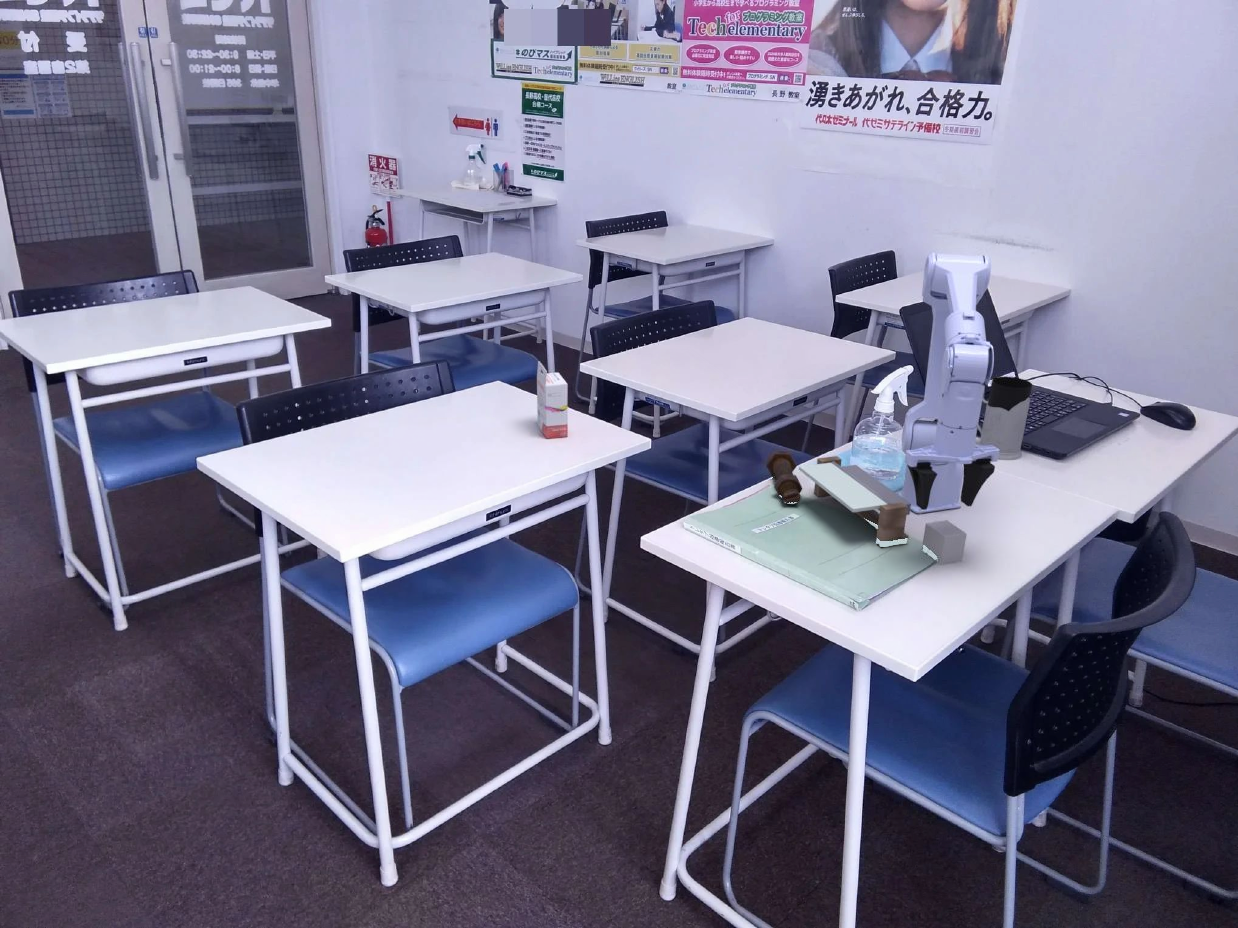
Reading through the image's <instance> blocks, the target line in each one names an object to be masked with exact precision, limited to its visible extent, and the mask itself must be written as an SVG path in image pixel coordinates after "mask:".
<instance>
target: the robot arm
mask: <svg viewBox="0 0 1238 928" xmlns="http://www.w3.org/2000/svg"><path fill="white" fill-rule="evenodd" d="M991 263H992V262H991V259H990V258H989V256H988V255H987V254H985V255H968V254H967V255H966V254H949V253H948V254H947V253H936V252H930V253H929V254H928V255H927V257H926V259H925V265H924V271H923V281H922V291H921V297H922V302H924V303H925V304H927V305H929V306H931V311H932V312H931V313H932V328H931V336H930V344H929V353H928V362H927V368H926V369H927V372H926V381H925V389H924V397H923V400H922V401H920V402H919V403H918V404H915V405H914V406H912V407H911V408H909V409H908V411H907V412H906V414H905V419H904V423H903V428H902V432H901V451H902V452H903V453H904V454H905V456H904V463H905V464H906V469H905V474H904V481H903V487H902V491H898V492H896V493H897V494H898V495H899V496H901V497H902V498H904V499H905V500H906V501H908V502H909V503H911V508H910V511H912V512H914V513H915V514H924V513H930V512H936V511H937V512H938V511H943V510H949V509H950V510H952V509H958V508H961V507H962V504H961V503H963V504H964V505H965V506H966V507H972V506H973V504H974V503H975V502H974V501H975V499H976V498H977V495H978V494H979V492H980V490H981V488H982V487H983V485H984V484H985V482H986V481H987V480H988V479H990V477H991V476H992V475H993V474H994V473H995V469H996V466H995V464H993V463H994V462H998V461H999V459H998V456H999V451H1000V450H999V449H997V448H996V447H994V446H981V445H979V444H977V445H976V438H977V433H978V428H977V427H978V425H979V420H980V415H981V410H982V409H981V408H982V405H983V404H982V403H983V401H982V399H983V393H984V388H985V387H986V386H987V385H989V383H990V381H991V380H992V378H991V377H992V375H993V372H994V371H993V370H994V364H995V363H994V362H995V356H994V355H995V354H994V347H993V345H992V344H991V342H990V341H987V336H986V328H985V327H986V326H985V319H984V317H983V315H982V314H981V313H980V312H978V311H977V305H978V304H979V301H980V300H981V299H982V297H983V296H984V294H985V292H986V291H987V289H988V287H989V284H990V279H991V278H990V277H991V269H992V264H991ZM984 384H985V385H986V386H985V385H984ZM984 394H985V393H984ZM923 419H924V420H923ZM925 419H932V420H925ZM935 420H936V421H935ZM992 462H993V463H992ZM959 501H960V502H961V503H959Z"/></svg>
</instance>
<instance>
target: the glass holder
mask: <svg viewBox="0 0 1238 928" xmlns="http://www.w3.org/2000/svg"><path fill="white" fill-rule="evenodd" d="M1032 388H1033V383H1032V382H1031V381H1029V380H1026V379H1023V378H1020V377H1014V376H997V377H994V378H991V385H990V390H989V395H988V400H986V399H985V392H986V391H985V389H986V388H985V387H984V393H983V399H982V403H984V404H986V407H985V408H986V409H985V412H984V419H983V423H982V428H981V426H980V425H979V424H978V427H977V431H979V433H980V439H979V440H980V441H979V444H978V445H981V446H994V447H996V448H997V449H999V450H1000V451H999V456H998V461H999V460H1001V461H1014V460H1019V459H1020V458H1022V456H1023V455H1022V451H1021V450H1022V449H1021V447H1022V444H1023V439H1024V433H1025V428H1026V423H1027V417H1028V413H1029V408H1030V404H1031V393H1032V390H1033V389H1032Z"/></svg>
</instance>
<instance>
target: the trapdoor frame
mask: <svg viewBox="0 0 1238 928" xmlns="http://www.w3.org/2000/svg"><path fill="white" fill-rule="evenodd" d="M833 461H834V462H836V463H837V464H838V465H840V466H841V467H842V458H840V457H839V456H837V455H835V456H827V457H819V458H817V460H816V464H824V463H831V462H833ZM813 494H814V495H815V496H816V497H817V498H821V497H829V496H831V495H830V494H829V493H828V492H826V491H825V490H824V489H823V488H821V487H820V486H819V485H818V484H816V483H815V482H814V489H813ZM907 509H908V506H906V505H905V504H904V503H902V502H901V503H894V504H887V505H881V508H880V511H879V512H878V511H876V509H874V510H867V511H860V512H854V514H856V515H857V516H858V515H859V516H858V517H860V516H861V517H862V518H865V519H867V520H869V521H871V522H873V523H875V524H877V525H878V529H877V530H876V537H875V539H876V538H878V539H879V540H880V541H893V540H898V539H905V538H908V539H909V535H908V534H906V532H905V527H906V520H907V516H908V515H907ZM861 517H860V518H861ZM862 518H861V519H862Z"/></svg>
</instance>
